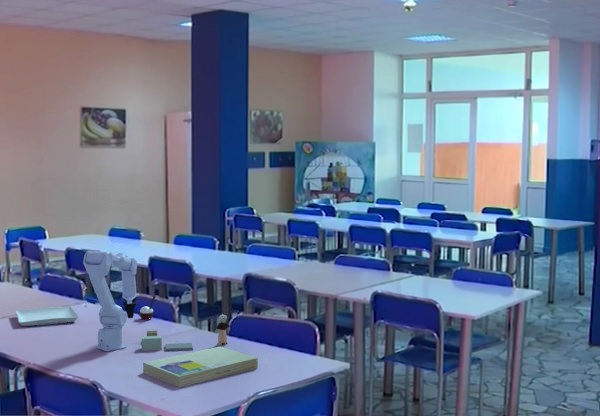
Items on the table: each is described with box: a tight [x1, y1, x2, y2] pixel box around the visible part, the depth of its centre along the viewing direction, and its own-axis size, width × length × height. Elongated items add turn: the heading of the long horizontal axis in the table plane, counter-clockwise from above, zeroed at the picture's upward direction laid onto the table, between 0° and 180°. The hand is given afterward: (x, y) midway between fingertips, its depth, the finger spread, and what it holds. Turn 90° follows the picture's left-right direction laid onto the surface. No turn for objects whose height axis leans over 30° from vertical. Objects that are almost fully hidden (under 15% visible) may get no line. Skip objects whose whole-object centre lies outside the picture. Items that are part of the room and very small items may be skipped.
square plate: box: [14, 306, 80, 327], centre depth 361 cm, size 27×27×4 cm
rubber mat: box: [164, 342, 194, 352], centre depth 310 cm, size 11×8×1 cm
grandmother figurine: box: [214, 314, 231, 346], centre depth 317 cm, size 8×4×13 cm, turn 143°
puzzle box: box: [142, 346, 259, 388], centre depth 278 cm, size 36×5×24 cm
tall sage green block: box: [141, 335, 163, 351], centre depth 308 cm, size 8×4×5 cm, turn 101°
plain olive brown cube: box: [146, 330, 158, 336], centre depth 320 cm, size 5×4×4 cm
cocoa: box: [138, 295, 156, 320], centre depth 364 cm, size 10×6×12 cm, turn 44°
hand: (130, 315), depth 324 cm, fingers open, 7 cm apart
